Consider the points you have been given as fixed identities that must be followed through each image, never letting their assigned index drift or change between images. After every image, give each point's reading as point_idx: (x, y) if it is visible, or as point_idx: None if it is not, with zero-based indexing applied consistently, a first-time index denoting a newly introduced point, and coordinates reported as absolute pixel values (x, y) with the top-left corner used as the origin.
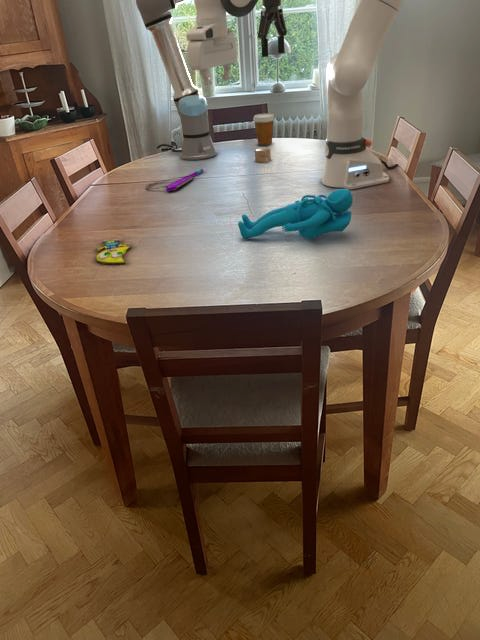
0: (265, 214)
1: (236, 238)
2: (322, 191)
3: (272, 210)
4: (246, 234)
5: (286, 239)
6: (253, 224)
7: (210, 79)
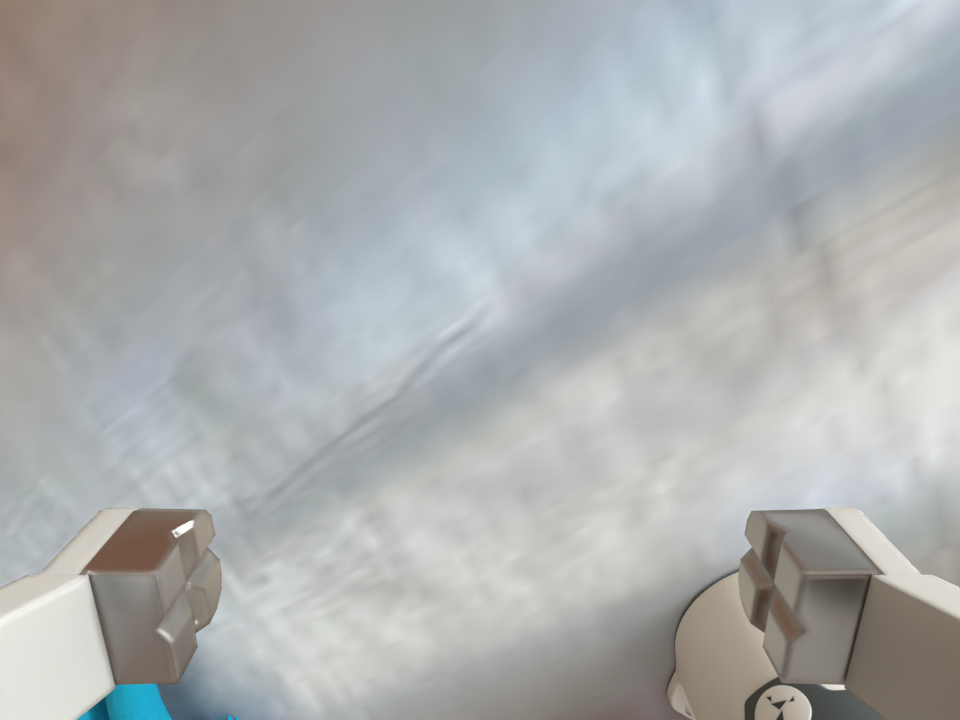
0: None
1: None
2: (620, 616)
3: (119, 716)
4: None
5: None
6: None
7: (162, 669)
